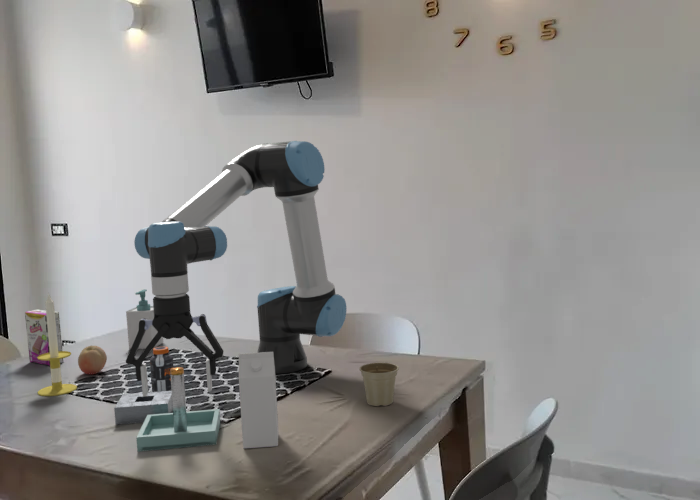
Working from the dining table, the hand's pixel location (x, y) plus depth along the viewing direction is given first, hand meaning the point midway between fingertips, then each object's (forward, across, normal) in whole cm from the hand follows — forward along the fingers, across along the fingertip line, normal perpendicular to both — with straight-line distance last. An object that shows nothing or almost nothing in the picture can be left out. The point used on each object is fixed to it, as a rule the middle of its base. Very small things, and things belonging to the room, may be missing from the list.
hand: (178, 392), depth 151 cm
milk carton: (+10, -17, +7) cm, 21 cm away
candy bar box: (+10, +50, -76) cm, 92 cm away
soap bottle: (+10, +22, -90) cm, 93 cm away
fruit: (+10, +32, -59) cm, 68 cm away
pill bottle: (+10, +9, -36) cm, 39 cm away
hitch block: (+10, +10, -16) cm, 21 cm away
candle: (+10, +38, -43) cm, 58 cm away
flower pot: (+10, -46, -11) cm, 48 cm away
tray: (+10, 0, 0) cm, 10 cm away
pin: (+9, 0, 0) cm, 9 cm away
